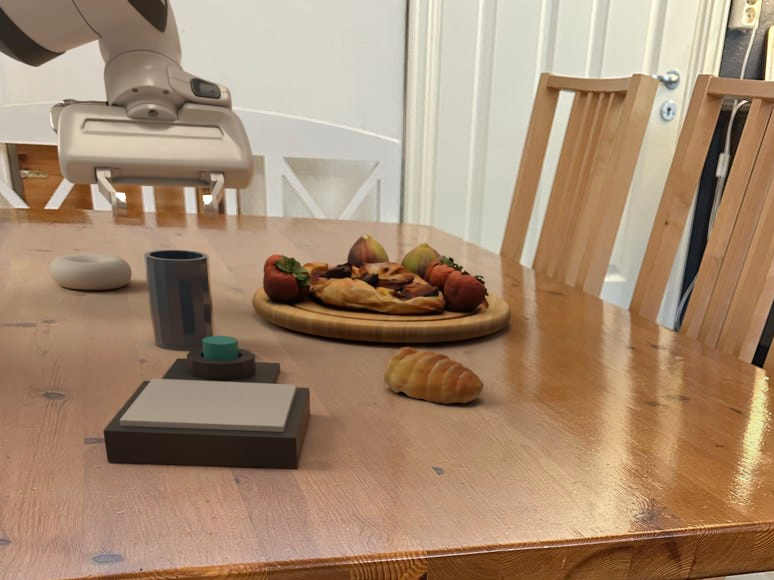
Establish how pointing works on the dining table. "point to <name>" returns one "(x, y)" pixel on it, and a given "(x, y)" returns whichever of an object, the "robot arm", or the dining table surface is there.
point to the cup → (179, 298)
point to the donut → (90, 271)
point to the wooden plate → (380, 297)
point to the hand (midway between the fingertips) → (166, 214)
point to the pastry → (431, 377)
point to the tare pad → (223, 369)
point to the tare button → (220, 348)
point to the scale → (210, 424)
